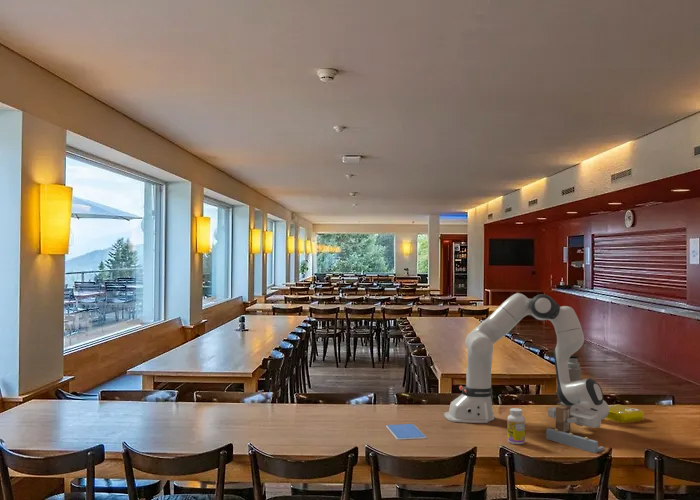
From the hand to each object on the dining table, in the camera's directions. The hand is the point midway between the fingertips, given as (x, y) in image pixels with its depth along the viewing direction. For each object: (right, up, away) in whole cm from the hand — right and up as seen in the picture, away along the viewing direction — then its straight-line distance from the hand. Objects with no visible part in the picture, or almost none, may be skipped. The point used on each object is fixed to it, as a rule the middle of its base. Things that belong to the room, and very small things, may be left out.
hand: (561, 419), depth 228 cm
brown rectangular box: (+1, -6, 0) cm, 6 cm away
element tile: (+40, -10, +34) cm, 53 cm away
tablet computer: (-62, -8, +7) cm, 63 cm away
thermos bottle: (+18, -9, +36) cm, 41 cm away
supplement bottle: (-20, -8, -4) cm, 22 cm away
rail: (+3, -8, -6) cm, 10 cm away
